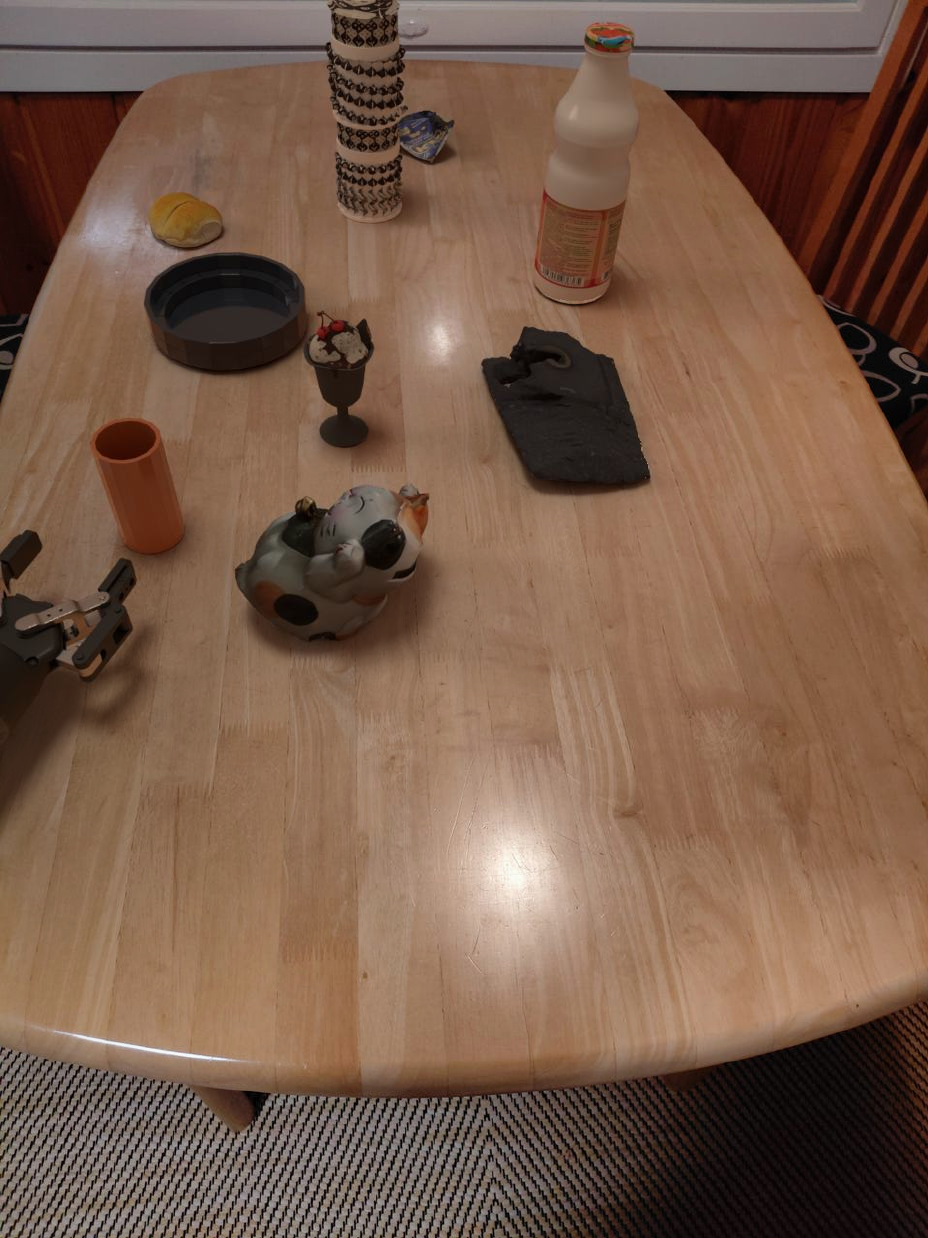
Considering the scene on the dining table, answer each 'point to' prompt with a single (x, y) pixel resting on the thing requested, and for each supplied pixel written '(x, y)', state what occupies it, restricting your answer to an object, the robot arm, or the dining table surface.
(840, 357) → the dining table surface
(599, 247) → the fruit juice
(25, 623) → the robot arm
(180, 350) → the bowl
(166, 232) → the bread roll
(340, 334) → the sundae
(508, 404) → the dark slate chunk
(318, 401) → the dining table surface
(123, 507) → the tumbler
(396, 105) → the cream patterned cylinder
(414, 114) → the snack package
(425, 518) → the lucky cat figurine
